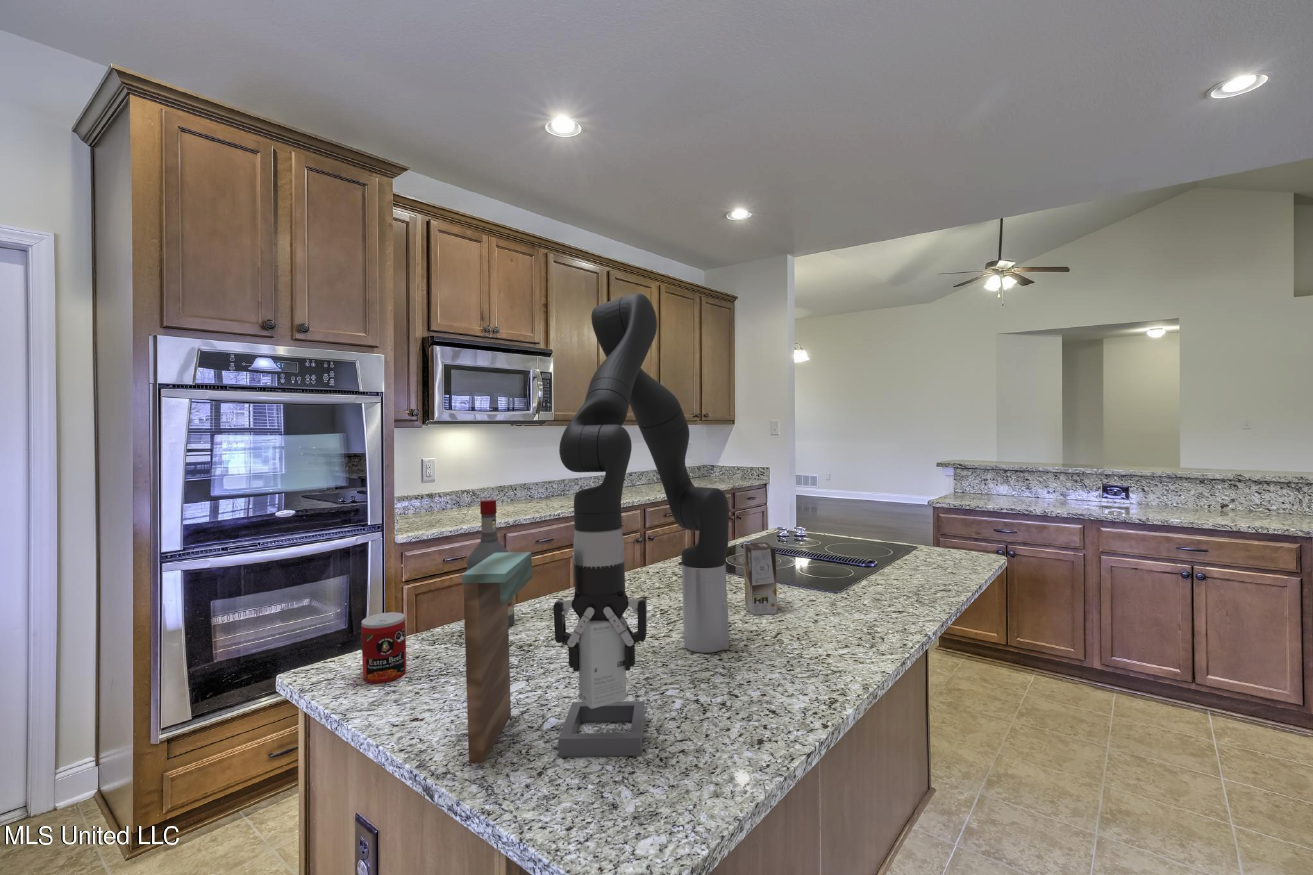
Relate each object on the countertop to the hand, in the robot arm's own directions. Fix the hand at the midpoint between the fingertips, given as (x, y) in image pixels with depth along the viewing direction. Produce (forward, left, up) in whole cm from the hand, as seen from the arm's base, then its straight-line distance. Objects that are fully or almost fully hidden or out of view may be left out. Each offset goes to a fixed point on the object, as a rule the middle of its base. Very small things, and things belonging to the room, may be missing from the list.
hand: (602, 669), depth 89 cm
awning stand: (+15, 0, -10) cm, 18 cm away
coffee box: (-32, -62, -10) cm, 70 cm away
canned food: (+45, -24, -10) cm, 52 cm away
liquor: (+33, -52, -10) cm, 62 cm away
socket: (0, 0, -10) cm, 10 cm away
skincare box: (0, 0, -5) cm, 5 cm away
